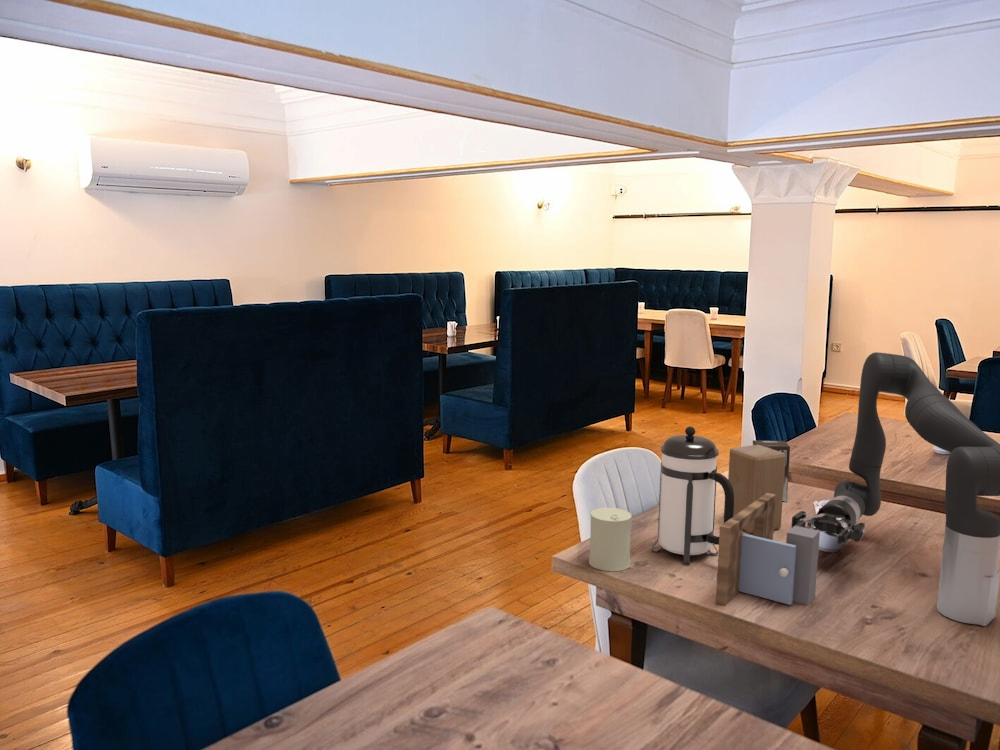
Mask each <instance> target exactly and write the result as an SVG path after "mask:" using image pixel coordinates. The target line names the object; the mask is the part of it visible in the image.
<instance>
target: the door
mask: <svg viewBox="0 0 1000 750" xmlns="http://www.w3.org/2000/svg"><path fill="white" fill-rule="evenodd" d="M795 559H796V545H792V544H788V543H786V542H783V541H778V540H775V539H773V540H770V539H766V538H761V537H757V536H754V535H753V534H749V533H748V534H747V533H743V532H742V542H741V558H740V575H739V592H741V593H745V594H748V595H752V596H755V597H760V598H763V599H767V600H771V601H774V602H778V603H781V604H785V605H788V606H791V605H792V604H793V587H794V573H795Z"/></svg>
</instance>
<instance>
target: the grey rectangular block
mask: <svg viewBox="0 0 1000 750" xmlns="http://www.w3.org/2000/svg"><path fill="white" fill-rule="evenodd" d="M820 536H821V532H820V531H818V530H813V529H808V528H804V527H799V526H794V527H793V528H792V527H791V528H790V529H789V530H788V531H787V532H786V542H785V543H788V544H792V545H796V559H795V573H794V587H793V601H794V602H793V601H792V602H793V603H797V602H798V604H801V603H802V604H801V605H805V606H809V605H810V603H811V602H813V600H814V599H815V597H816V589H817V576H818V562H819V552H820V551H819V550H820V549H819V548H820ZM813 598H814V599H813Z"/></svg>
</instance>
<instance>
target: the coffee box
mask: <svg viewBox="0 0 1000 750" xmlns="http://www.w3.org/2000/svg"><path fill="white" fill-rule="evenodd" d="M752 445H761V446H764V447H767V448H770V449H773V450H777V451H780V452H783V453H784V454H785V456H786V457H785V472H784V486H783V501H784V502H785V503H786V502H788V494H789V493H788V491H789V475H790V454H791V446H790V445H789V443H787V442H786V441H785V440H752Z"/></svg>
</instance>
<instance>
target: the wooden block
mask: <svg viewBox="0 0 1000 750" xmlns="http://www.w3.org/2000/svg"><path fill="white" fill-rule="evenodd" d="M785 457H786V456H785V454H784V453H783V452H780V451H777V450H773V449H770V448H767V447H764V446H761V445H753V444H751V445H745V446H737V447H732V448H730V450H729V458H728V459H729V461H728V478H727V479H728V480H729V481H730V483H731V485H732V488H733V492H734V513H733V517H734V516H735V515H736V514H738V513H739V512H741V511H742V510H743V509H745V508H746V507H748V506H749V505H750V504H752V503H753V502H755V501H756V500H758V499H759V498H760V497H762V496H763V495H765V494H766V493H770V494H775V495H776V500H775V515H774V530H779V529H781V527H782V515H783V514H782V512H783V502H782V501H783V486H784V472H785ZM754 523H755V519H754V520H753V521H751V522H750V523H749V524H747V525H746V526H745V527H743V528H742V531H745V532H747V533H748V534H750V535H754ZM774 530H773V531H774Z"/></svg>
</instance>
